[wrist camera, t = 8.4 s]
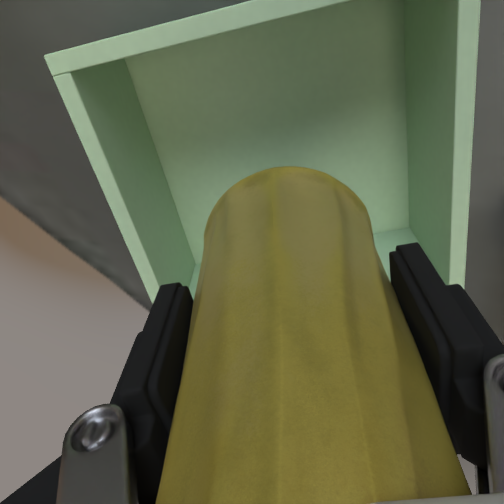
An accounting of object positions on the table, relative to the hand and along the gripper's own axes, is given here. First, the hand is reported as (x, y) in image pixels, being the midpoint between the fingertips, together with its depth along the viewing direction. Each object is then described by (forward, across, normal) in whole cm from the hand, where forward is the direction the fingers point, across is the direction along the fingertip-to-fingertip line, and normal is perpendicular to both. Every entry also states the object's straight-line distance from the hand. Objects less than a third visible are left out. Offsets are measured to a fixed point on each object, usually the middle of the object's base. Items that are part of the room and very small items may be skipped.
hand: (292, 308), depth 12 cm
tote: (+16, 0, 0) cm, 16 cm away
